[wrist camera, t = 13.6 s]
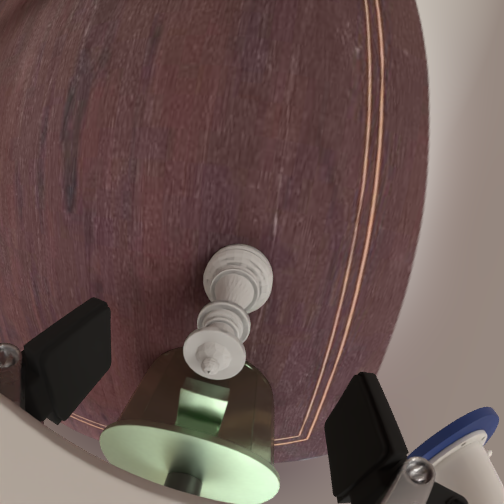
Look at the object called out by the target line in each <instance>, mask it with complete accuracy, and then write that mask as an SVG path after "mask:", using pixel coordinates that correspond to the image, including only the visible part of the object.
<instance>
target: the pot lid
mask: <svg viewBox="0 0 504 504" xmlns="http://www.w3.org/2000/svg"><path fill="white" fill-rule="evenodd" d="M100 446H101V449H102V452H103V454H104V455H105V457H106V458H107V459H108V461H109V462H110V463H111V464H112V465H114V466H116V467H118V468H120V469H123V470H125V471H127V472H130V473H132V474H134V475H137V476H139V477H142V478H144V479H147V480H149V481H152V482H155V483H157V484H160V485H163V486H166V487H169V488H172V489H175V490H179V491H182V492H185V493H189V494H192V495H196V496H200V497H204V498H208V499H212V500H217V501H222V502H227V503H232V504H261V503H264V502H266V501H268V500H270V499H271V498H272V497H274V496H275V495H276V494H277V492H278V491H279V488H280V477H279V474H278V472H277V471H276V470H275V468H274V467H273V466H272V465H271V464H270V463H269V462H268V461H266V460H265V459H263V458H262V457H261V456H259V455H257V454H255V453H254V452H252V451H250V450H248V449H246V448H243V447H241V446H239V445H237V444H234V443H232V442H229V441H227V440H224V439H221V438H218V437H215V436H213V435H209V434H206V433H203V432H199V431H196V430H192V429H188V428H184V427H181V426H176V425H171V424H167V423H160V422H154V421H145V420H123V421H118V422H114V423H112V424H110V425H108V426H107V427H106V428H105V429H104V430H103V432H102V434H101V436H100Z"/></svg>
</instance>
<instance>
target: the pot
mask: <svg viewBox="0 0 504 504" xmlns="http://www.w3.org/2000/svg"><path fill="white" fill-rule="evenodd" d="M123 420H145V421H154V422H160V423H167V424H171V425H176V426H181V427H184V428H188V429H192V430H196V431H199V432H203V433H206V434H209V435H213V436H215V437H218V438H221V439H224V440H227V441H229V442H232V443H234V444H237V445H239V446H241V447H243V448H246V449H248V450H250V451H252V452H254V453H255V454H257V455H259V456H261V457H262V458H263V459H265V460H266V461H268V462H269V463H270V464H271V465H272V466H273V467H274V399H273V392H272V389H271V386H270V384H269V382H268V381H267V379H266V378H265V377H264V375H263V374H262V373H261V372H260V371H259V370H258V369H256V368H255V367H254V366H253V365H251V364H250V363H249V362H247V361H245V364H244V366H243V368H242V370H241V371H240V372H239V373H238V374H237V375H235V376H233V377H231V378H228V379H223V380H215V379H209V378H206V377H203V376H201V375H199V374H198V373H196V372H195V371H194V370H192V369H191V368H190V367H189V365H188V364H187V362H186V360H185V358H184V355H183V347H181V348H176V349H173V350H170V351H167V352H166V353H164V354H162V355H161V356H159V357H158V358H157V359H156V360H155V361H154V362H153V363H152V365H151V367H150V368H149V369H148V371H147V372H146V374H145V375H144V377H143V379H142V380H141V382H140V383H139V385H138V387H137V388H136V390H135V392H134V393H133V395H132V397H131V398H130V400H129V402H128V403H127V405H126V407H125V408H124V410H123V412H122V413H121V415H120V417H119V419H118V420H117V422H118V421H123Z"/></svg>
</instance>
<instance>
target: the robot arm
mask: <svg viewBox="0 0 504 504" xmlns="http://www.w3.org/2000/svg"><path fill="white" fill-rule="evenodd" d="M110 319H111V311H110V308H109V307H108V305H107V303H106V302H104V301H102V300H100V299H97V298H95V297H93V298H91V299H89V300H88V301H86V302H85V303H83V304H82V305H80V306H79V307H77V308H76V309H74V310H73V311H72V312H70V313H69V314H67V315H66V316H64V317H63V318H61V319H60V320H59V321H57V322H56V323H54V324H53V325H52V326H50V327H49V328H47V329H46V330H45V331H43V332H42V333H40V334H39V335H38V336H36V337H35V338H33V339H32V340H31V341H29V342H28V343H27V344H25V345H24V350H23V351H22V352H20V350H19V348H17V347H16V346H15V345H13V344H10V343H0V504H232V503H227V502H222V501H217V500H212V499H208V498H204V497H200V496H196V495H192V494H189V493H185V492H182V491H179V490H175V489H172V488H169V487H166V486H163V485H160V484H157V483H155V482H152V481H149V480H147V479H144V478H142V477H139V476H137V475H134V474H132V473H130V472H127V471H125V470H123V469H120V468H118V467H116V466H114V465H112V464H110V463H108V462H106V461H104V460H102V459H100V458H98V457H96V456H94V455H92V454H90V453H88V452H87V451H85V450H83V449H82V448H80V447H78V446H76V445H74V444H73V443H71V442H70V441H68V440H67V439H65V438H63V437H62V436H60V435H59V434H57V433H56V432H54V431H53V430H51V429H50V428H48V427H47V426H45V425H44V422H43V421H44V420H45V419H46V418H48V419H49V420H51V421H53V422H54V423H55V424H57V425H58V424H59V423H60V422H61V421H62V420H63V421H65V420H67V419H68V418H69V416H70V415H71V414H72V413H73V411H74V410H75V409H76V408H77V406H78V405H79V404H80V403H81V402H82V400H83V399H84V398H85V397H86V396H87V394H88V393H89V392H90V391H91V390H92V388H93V387H94V386H95V385H96V384H97V382H98V381H99V380H100V379H101V378H102V377H103V375H104V374H105V373H106V372H107V371H108V369H109V368H110V366H111V330H110ZM324 428H325V436H326V443H327V450H328V457H329V464H330V471H331V480H332V489H333V495H334V496H335V497H337V501H338V503H351V504H504V487H503V484H502V482H501V480H500V478H499V476H498V475H497V473H496V471H495V469H494V467H493V465H492V463H491V461H490V460H489V459H490V458H489V457H490V456H491V455H492V451H490V450H489V451H485V449H484V447H483V445H484V443H485V441H486V439H487V434H486V432H485V431H484V430H477V431H474V432H471V433H469V434H467V435H465V436H463V437H462V438H460V439H458V440H457V441H455V442H454V443H452V444H450V445H449V446H448V447H446V448H445V449H443V450H442V451H441V452H439V453H438V454H437V455H435V456H434V457H433V458H432V459H430V460H429V461H428V460H427V459H425V458H422V457H417V456H414V457H410V458H409V459H408V458H407V456H406V455H407V453H408V450H407V447H406V445H405V442H404V440H403V437H402V435H401V433H400V430H399V427H398V425H397V422H396V420H395V418H394V415H393V413H392V411H391V408H390V406H389V404H388V402H387V399H386V397H385V395H384V392H383V390H382V388H381V386H380V383H379V381H378V379H377V377H376V375H375V374H373V373H366V372H360V373H359V374H358V375H354V376H353V378H352V379H351V381H350V383H349V385H348V386H347V388H346V390H345V392H344V393H343V395H342V397H341V398H340V400H339V401H338V403H337V405H336V406H335V408H334V409H333V411H332V412H331V414H330V416H329V417H328V419H327V420H326V422H325V427H324Z"/></svg>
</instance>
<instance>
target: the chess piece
mask: <svg viewBox="0 0 504 504" xmlns="http://www.w3.org/2000/svg"><path fill="white" fill-rule="evenodd" d="M272 282H273V273H272V268H271V265H270V263H269V261H268V259H267V258H266V257H265V256H264V254H263V253H262V252H260V251H259V250H257V249H256V248H254V247H251V246H249V245H245V244H233V245H228V246H226V247H224V248H222V249H220V250H219V251H218V252H216V253H215V254H214V255H213V257H212V258H211V260H210V261H209V263H208V265H207V267H206V269H205V272H204V275H203V285H204V289H205V292H206V294H207V296H208V298H209V300H210V301H211V302H209V303H208V304H206V305H205V306H204V307H203V308H202V310H201V311H200V313H199V315H198V319H197V327H198V329H197V330H195V331H193V332H192V333H190V334H189V336H188V337H187V339H186V340H185V343H184V347H183V355H184V358H185V360H186V362H187V364H188V365H189V367H190V368H191V369H192V370H194V371H195V372H196V373H198V374H199V375H201V376H203V377H206V378H209V379H215V380H223V379H228V378H231V377H233V376H235V375H237V374H238V373H239V372H240V371H241V370H242V368H243V366H244V364H245V360H246V352H245V348H244V346H243V344H242V343H243V342H244V341H245V340H246V339H247V337H248V335H249V333H250V325H251V323H250V318H249V316H248V314H247V313H250V312H253V311H255V310H257V309H258V308H260V307H261V306H262V305H263V304H264V303H265V302H266V301H267V299H268V297H269V295H270V293H271V288H272Z"/></svg>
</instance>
